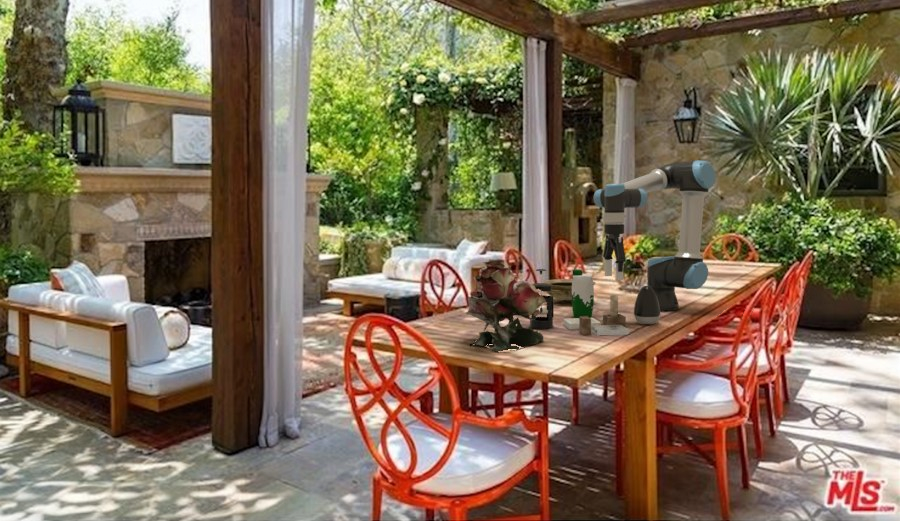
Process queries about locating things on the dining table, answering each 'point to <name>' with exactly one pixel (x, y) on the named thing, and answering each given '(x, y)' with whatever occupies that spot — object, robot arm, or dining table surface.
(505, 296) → the rose bouquet
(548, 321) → the french press
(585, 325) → the wooden block
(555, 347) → the dining table surface
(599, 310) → the dining table surface
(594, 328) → the plate
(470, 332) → the dining table surface
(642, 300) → the pump dispenser
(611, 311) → the dowel
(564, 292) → the ceramic bowl
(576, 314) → the milk carton
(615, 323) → the socket block
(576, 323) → the tray
